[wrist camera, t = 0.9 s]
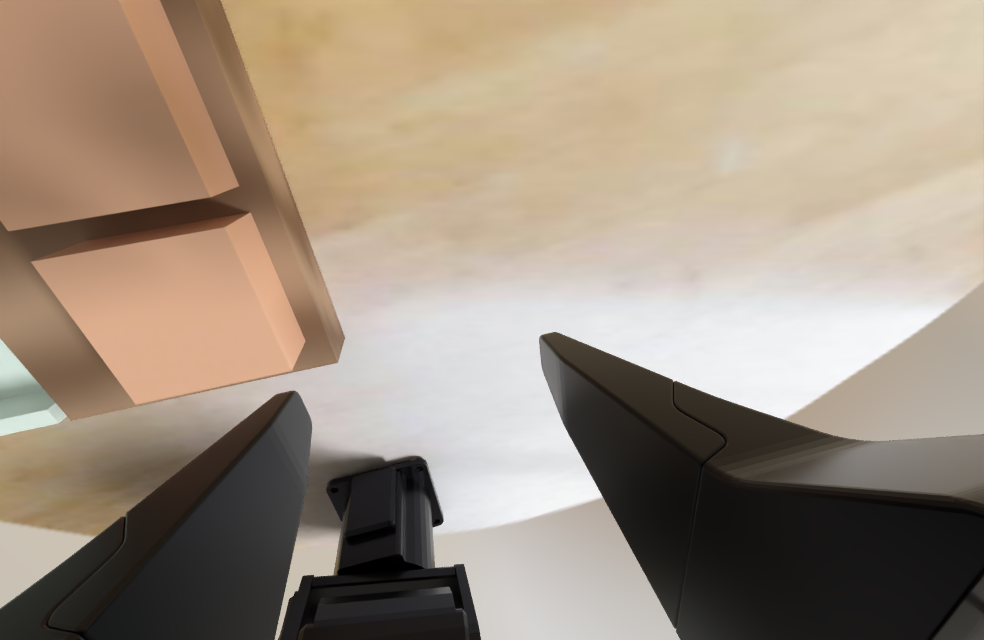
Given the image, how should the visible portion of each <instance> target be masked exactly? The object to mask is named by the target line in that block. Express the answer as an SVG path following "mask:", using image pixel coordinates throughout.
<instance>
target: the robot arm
mask: <svg viewBox="0 0 984 640" xmlns="http://www.w3.org/2000/svg"><path fill="white" fill-rule="evenodd" d="M539 344H540V355H541V364H542V369H543V373H544V376H545V378H546V381H547V383H548V386H549V388H550V391H551V394H552V396H553V399H554V401H555V404H556V406H557V409H558V412H559V414H560V417H561V419H562V421H563V424H564V426H565V428H566V430H567V432H568V434H569V436H570V437H571V439H572V441H573V443H574V445H575V447H576V448H577V450H578V452H579V454H580V456H581V458H582V459H583V461H584V463H585V465H586V467H587V469H588V470H589V472H590V474H591V476H592V478H593V480H594V481H595V483H596V485H597V487H598V489H599V491H600V492H601V494H602V496H603V498H604V500H605V502H606V503H607V505H608V507H609V509H610V511H611V513H612V514H613V516H614V518H615V520H616V522H617V524H618V525H619V527H620V529H621V531H622V533H623V534H624V537H625V538H626V540H627V542H628V544H629V546H630V548H631V549H632V551H633V553H634V555H635V557H636V559H637V560H638V562H639V564H640V566H641V568H642V570H643V571H644V573H645V575H646V576H647V579H648V581H649V582H650V584H651V586H652V588H653V590H654V592H655V593H656V595H657V597H658V599H659V601H660V603H661V604H662V606H663V608H664V610H665V612H666V614H667V615H668V617H669V619H670V621H671V623H672V625H673V626H674V628H676V632H677V634H678V636H679V638H680V639H681V640H984V434H981V435H966V436H952V437H936V438H923V439H922V438H921V439H907V440H893V441H863V440H855V439H847V438H843V437H838V436H833V435H830V434H826V433H823V432H820V431H817V430H814V429H810V428H807V427H804V426H801V425H798V424H795V423H792V422H789V421H786V420H783V419H780V418H777V417H774V416H771V415H768V414H765V413H762V412H759V411H756V410H753V409H750V408H747V407H744V406H741V405H738V404H735V403H732V402H729V401H726V400H724V399H721V398H718V397H715V396H713V395H710V394H707V393H705V392H702V391H700V390H697V389H694V388H692V387H689V386H687V385H685V384H682V383H680V382H677V381H674V383H673V380H672V379H670V378H667V377H665V376H662V375H660V374H657V373H655V372H653V371H650V370H648V369H645V368H643V367H640V366H638V365H636V364H633V363H631V362H628V361H626V360H623V359H621V358H618V357H616V356H614V355H611V354H609V353H606V352H604V351H601V350H599V349H597V348H594V347H592V346H589V345H587V344H584V343H582V342H579V341H577V340H575V339H572V338H570V337H567V336H565V335H562V334H560V333H557V332H552V333H548V334H544V335H541V336H540V338H539ZM311 434H312V422H311V418H310V416H309V414H308V412H307V410H306V407H305V405H304V403H303V401H302V399H301V397H300V395H299V394H298V393H297V392H296V391H289V392H284V393H280V394H277V395H275V396H273V397H272V398H271V399H270V400H268V401H267V402H266V403H265V404H263V405H262V406H261V407H260V408H258V409H257V410H256V411H255V412H253V413H252V414H251V415H250V416H248V417H247V418H246V419H244V420H243V421H242V422H241V423H239V424H238V425H237V426H236V427H234V428H233V429H232V430H231V431H229V432H228V433H227V434H226V435H224V436H223V437H222V438H220V439H219V440H218V441H217V442H215V443H214V444H213V445H212V446H210V447H209V448H208V449H207V450H205V451H204V452H203V453H202V454H200V455H199V456H198V457H196V458H195V459H194V460H193V461H191V462H190V463H189V464H188V465H186V466H185V467H184V468H183V469H181V470H180V471H179V472H178V473H176V474H175V475H174V476H172V477H171V478H170V479H169V480H167V481H166V482H165V483H164V484H162V485H161V486H160V487H159V488H157V489H156V490H155V491H154V492H152V493H151V494H150V495H148V496H147V497H146V498H145V499H143V500H142V501H141V502H140V503H138V504H137V505H136V506H135V507H133V508H132V509H131V510H130V511H128V512H127V513H126V516H125V517H121V518H119V519H118V520H117V521H115V522H114V523H113V524H112V525H110V526H109V527H108V528H107V529H105V530H104V531H103V532H102V533H100V534H99V535H98V536H96V537H95V538H94V539H93V540H92V541H90V542H89V543H87V544H86V545H85V546H84V547H82V548H81V549H80V550H78V551H77V552H76V553H74V555H72V556H71V557H69V558H68V559H67V560H65V561H64V562H63V563H61V564H60V565H59V566H58V567H56V568H55V569H53V570H52V571H51V572H49V573H48V574H47V575H45V576H44V577H43V578H41V579H40V580H39V581H37V582H36V583H34V584H33V585H32V586H31V587H29V588H28V589H26V590H25V591H24V592H22V593H21V594H20V595H18V596H17V597H15V598H14V599H13V600H11V601H10V602H9V603H7V604H6V605H4V606H3V607H2V608H0V640H274V639H275V635H276V629H277V625H278V620H279V616H280V611H281V606H282V601H283V597H284V592H285V587H286V583H287V578H288V574H289V569H290V564H291V559H292V554H293V550H294V545H295V541H296V536H297V531H298V527H299V522H300V517H301V513H302V508H303V503H304V499H305V493H306V487H307V479H308V468H309V457H310V446H311ZM418 466H421V467H418ZM333 487H336V488H333ZM326 491H327V494H328V495H329V497H330V499H331V501H332V503H333V505H334V507H335V509H336V511H337V513H338V515H339V517H340V519H341V521H342V526H341V532H340V538H339V544H338V551H337V557H336V563H335V569H334V575H333V576H319V577H314V575H307V576H303V577H302V580H301V583H300V587H299V590H298V591H296V592H295V594H294V596H293V597H291V598H290V599H289V602H288V606H287V611H286V615H285V619H284V623H283V626H282V630H281V633H280V636H279V638H278V640H481V637H480V631H479V626H478V621H477V617H476V613H475V609H474V604H473V600H472V597H471V592H470V588H469V584H468V580H467V575H466V571H465V567H464V564H456V565H454V566H453V567H441V568H435V562H434V546H433V529H432V527H436V526H439V525H441V524H442V523H443V513H442V510H441V507H440V504H439V500H438V497H437V494H436V491H435V487H434V484H433V481H432V478H431V474H430V471H429V468H428V465H427V462H426V460H424V459H416V460H412V461H408V462H404V463H400V464H396V465H391V466H387V467H383V468H379V469H375V470H371V471H367V472H363V473H359V474H355V475H351V476H347V477H343V478H339V479H335V480H332V481H330V482H329V483H328V485H327V490H326Z"/></svg>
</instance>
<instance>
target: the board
mask: <svg viewBox="0 0 984 640" xmlns="http://www.w3.org/2000/svg"><path fill="white" fill-rule="evenodd" d="M160 2H161V4H162V6H163V9H164V11H165V13H166V16H167V18H168V20H169V23H170V25H171V27H172V30H173V32H174V34H175V37H176V39H177V41H178V44H179V46H180V48H181V51H182V53H183V55H184V58H185V60H186V62H187V65H188V67H189V69H190V72H191V74H192V76H193V79H194V81H195V84H196V86H197V88H198V91H199V93H200V95H201V98H202V100H203V102H204V105H205V107H206V109H207V112H208V114H209V116H210V119H211V121H212V123H213V126H214V128H215V130H216V133H217V135H218V137H219V140H220V142H221V144H222V147H223V149H224V151H225V154H226V156H227V158H228V161H229V163H230V165H231V168H232V170H233V172H234V175H235V177H236V179H237V182H238V184H239V186H238V187H236V188H233V189H230V190H228V191H225V192H223V193H220V194H218V195H215V196H213V197H209V198H203V199H197V200H191V201H186V202H180V203H174V204H168V205H162V206H156V207H150V208H144V209H138V210H132V211H126V212H120V213H115V214H109V215H103V216H97V217H91V218H85V219H79V220H73V221H67V222H61V223H55V224H49V225H43V226H38V227H32V228H26V229H20V230H14V231H8V230H7V229H6V228H5V226H4V225H3V224H2V222H1V221H0V339H1V340H2V341H3V342H4V343H5V345H6V346H7V347H8V348H9V349H10V350H11V352H12V353H13V354H14V355H15V356H16V357H17V359H18V360H19V361H20V362H21V363H22V364H23V366H24V367H25V368H26V369H27V370H28V371H29V373H30V374H31V375H32V376H33V377H34V378H35V379H36V381H37V382H38V383H39V384H40V385H41V386H42V388H43V389H44V390H45V391H46V392H47V393H48V395H49V396H50V397H51V398H52V399H53V400H54V402H55V403H56V404H57V405H58V406H59V407H60V409H61V410H62V411H63V412H64V413H65V414H66V416H67V417H68V418H69V419H70V420H76V419H80V418H85V417H90V416H94V415H99V414H103V413H108V412H113V411H117V410H122V409H126V408H131V407H136V406H140V405H145V404H150V403H154V402H159V401H163V400H168V399H173V398H177V397H182V396H186V395H191V394H196V393H200V392H205V391H209V390H214V389H219V388H223V387H228V386H232V385H237V384H242V383H246V382H251V381H256V380H260V379H265V378H269V377H274V376H279V375H283V374H288V373H292V372H297V371H302V370H306V369H311V368H315V367H320V366H325V365H329V364H334V363H338V360H339V356H340V353H341V350H342V346H343V343H344V339H345V337H344V334H343V331H342V329H341V326H340V323H339V320H338V318H337V315H336V312H335V310H334V307H333V304H332V301H331V299H330V296H329V293H328V291H327V288H326V285H325V283H324V280H323V277H322V274H321V272H320V269H319V266H318V264H317V261H316V258H315V256H314V253H313V250H312V247H311V245H310V242H309V239H308V237H307V234H306V231H305V228H304V226H303V223H302V220H301V218H300V215H299V212H298V210H297V207H296V204H295V201H294V199H293V196H292V193H291V191H290V188H289V185H288V182H287V180H286V177H285V174H284V172H283V169H282V166H281V164H280V161H279V158H278V155H277V153H276V150H275V147H274V145H273V142H272V139H271V137H270V134H269V131H268V128H267V126H266V123H265V120H264V118H263V115H262V112H261V109H260V107H259V104H258V101H257V99H256V96H255V93H254V91H253V88H252V85H251V82H250V80H249V77H248V74H247V72H246V69H245V66H244V64H243V61H242V58H241V55H240V53H239V50H238V47H237V45H236V42H235V39H234V36H233V34H232V31H231V28H230V26H229V23H228V20H227V18H226V15H225V12H224V9H223V7H222V4H221V1H220V0H160ZM249 212H251V214H252V217H253V219H254V222H255V224H256V226H257V229H258V231H259V233H260V236H261V238H262V240H263V243H264V245H265V247H266V250H267V252H268V254H269V257H270V259H271V261H272V264H273V266H274V268H275V271H276V273H277V275H278V278H279V280H280V282H281V285H282V287H283V289H284V292H285V294H286V296H287V299H288V301H289V303H290V306H291V308H292V310H293V313H294V315H295V317H296V320H297V322H298V324H299V327H300V329H301V331H302V334H303V336H304V338H305V343H304V346H303V348H302V350H301V352H300V354H299V356H298V358H297V361H296V363H295V365H294V367H293V369H292V371H289V372H285V373H280V374H276V375H271V376H266V377H262V378H257V379H253V380H248V381H243V382H239V383H234V384H229V385H225V386H220V387H216V388H211V389H206V390H202V391H197V392H193V393H188V394H183V395H179V396H174V397H169V398H165V399H160V400H156V401H151V402H146V403H142V404H137V405H136V404H135V403H134V402H133V400H132V399H131V397H130V396H129V395H128V393H127V392H126V391H125V389H124V388H123V387H122V385H121V384H120V382H119V381H118V380H117V378H116V377H115V376H114V374H113V373H112V372H111V370H110V369H109V368H108V366H107V365H106V363H105V362H104V361H103V359H102V358H101V357H100V355H99V354H98V353H97V351H96V350H95V349H94V347H93V346H92V344H91V343H90V342H89V340H88V339H87V338H86V336H85V335H84V334H83V332H82V331H81V330H80V328H79V327H78V325H77V324H76V323H75V321H74V320H73V319H72V317H71V316H70V315H69V313H68V312H67V310H66V309H65V308H64V306H63V305H62V304H61V302H60V301H59V300H58V298H57V297H56V296H55V294H54V293H53V291H52V290H51V289H50V287H49V286H48V285H47V283H46V282H45V281H44V279H43V278H42V277H41V275H40V274H39V272H38V271H37V270H36V268H35V267H34V266H33V264H32V263H31V261H34V260H37V259H39V258H42V257H45V256H47V255H50V254H53V253H55V252H58V251H61V250H63V249H66V248H69V247H71V246H74V245H77V244H79V243H82V242H85V241H88V240H94V239H100V238H106V237H111V236H117V235H123V234H128V233H134V232H140V231H146V230H151V229H157V228H163V227H169V226H174V225H180V224H186V223H192V222H197V221H203V220H209V219H215V218H220V217H226V216H232V215H237V214H243V213H249Z"/></svg>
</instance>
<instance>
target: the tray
mask: <svg viewBox="0 0 984 640" xmlns="http://www.w3.org/2000/svg"><path fill="white" fill-rule="evenodd" d="M65 417H67V416H66V414H65V413H64V412H63V411H62V410H61V409H60V407H59V406H58V405H57V404H56V403H55V402H54V400H53V399H52V398H51V397H50V396H49V395H48V393H47V392H46V391H45V390H44V389H43V388H42V386H41V385H40V384H39V383H38V382H37V381H36V379H35V378H34V377H33V376H32V375H31V374H30V373H29V371H28V370H27V369H26V368H25V367H24V366H23V364H22V363H21V362H20V361H19V360H18V359H17V357H16V356H15V355H14V354H13V353H12V352H11V350H10V349H9V348H8V347H7V346H6V345H5V343H4V342H3V341H2V340H1V339H0V436H2V435H7V434H11V433H16V432H20V431H25V430H30V429H34V428H39V427H44V426H48V425H53V424H57V423H60V422H61V421H62V420H63V419H64V418H65Z"/></svg>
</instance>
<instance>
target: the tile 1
mask: <svg viewBox="0 0 984 640" xmlns="http://www.w3.org/2000/svg"><path fill="white" fill-rule="evenodd" d="M238 186H239V184H238V182H237V179H236V177H235V175H234V172H233V170H232V168H231V165H230V163H229V161H228V158H227V156H226V154H225V151H224V149H223V147H222V144H221V142H220V140H219V137H218V135H217V133H216V130H215V128H214V126H213V123H212V121H211V119H210V116H209V114H208V112H207V109H206V107H205V105H204V102H203V100H202V98H201V95H200V93H199V91H198V88H197V86H196V84H195V81H194V79H193V76H192V74H191V72H190V69H189V67H188V65H187V62H186V60H185V58H184V55H183V53H182V51H181V48H180V46H179V44H178V41H177V39H176V37H175V34H174V32H173V30H172V27H171V25H170V23H169V20H168V18H167V16H166V13H165V11H164V9H163V6H162V4H161V2H160V0H0V221H1V222H2V224H3V225H4V226H5V228H6V229H7V230H8V231H14V230H20V229H26V228H32V227H38V226H43V225H49V224H55V223H61V222H67V221H73V220H79V219H85V218H91V217H97V216H103V215H109V214H115V213H120V212H126V211H132V210H138V209H144V208H150V207H156V206H162V205H168V204H174V203H180V202H186V201H191V200H197V199H203V198H209V197H213V196H215V195H218V194H220V193H223V192H225V191H228V190H230V189H233V188H236V187H238Z"/></svg>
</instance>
